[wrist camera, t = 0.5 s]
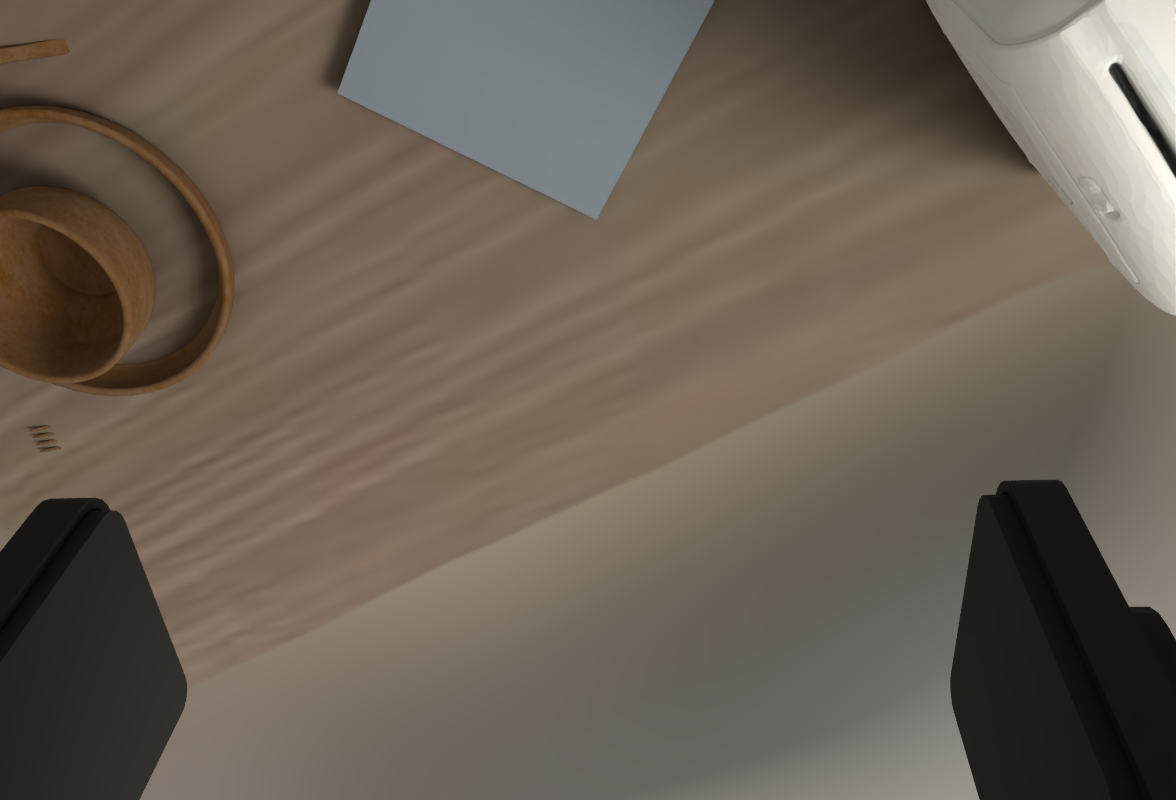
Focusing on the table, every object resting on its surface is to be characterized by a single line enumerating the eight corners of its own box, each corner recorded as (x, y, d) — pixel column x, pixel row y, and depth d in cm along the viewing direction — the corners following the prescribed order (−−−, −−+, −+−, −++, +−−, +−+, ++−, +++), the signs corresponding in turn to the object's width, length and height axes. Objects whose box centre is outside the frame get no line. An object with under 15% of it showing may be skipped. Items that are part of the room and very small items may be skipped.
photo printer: (1166, 120, 36) (1369, 284, 25) (1048, 196, 37) (1193, 379, 27) (1014, -139, 32) (1179, -70, 22) (890, -41, 34) (988, 67, 23)
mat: (449, -207, 32) (445, -206, 31) (736, -46, 34) (737, -43, 33) (342, 88, 37) (337, 93, 36) (597, 213, 39) (596, 219, 38)
